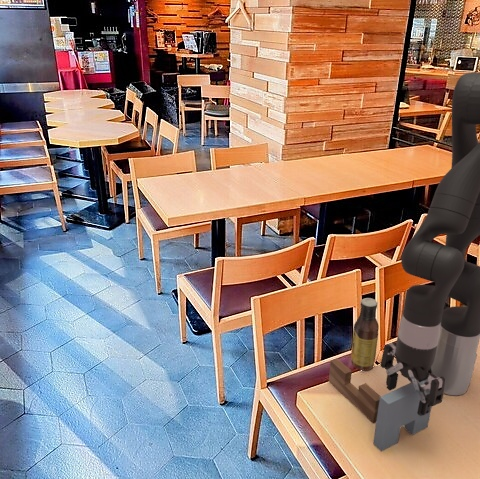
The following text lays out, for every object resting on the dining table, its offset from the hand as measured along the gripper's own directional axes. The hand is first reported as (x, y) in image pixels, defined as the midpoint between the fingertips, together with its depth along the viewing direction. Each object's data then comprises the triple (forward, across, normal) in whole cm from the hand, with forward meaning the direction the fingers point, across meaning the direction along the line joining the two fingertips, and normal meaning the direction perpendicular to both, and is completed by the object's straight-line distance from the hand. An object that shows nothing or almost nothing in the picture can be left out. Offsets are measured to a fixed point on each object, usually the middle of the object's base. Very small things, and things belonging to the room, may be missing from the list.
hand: (406, 400), depth 97 cm
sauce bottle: (+10, +22, -9) cm, 26 cm away
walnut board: (+10, +14, +2) cm, 17 cm away
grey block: (+10, 0, 0) cm, 10 cm away
